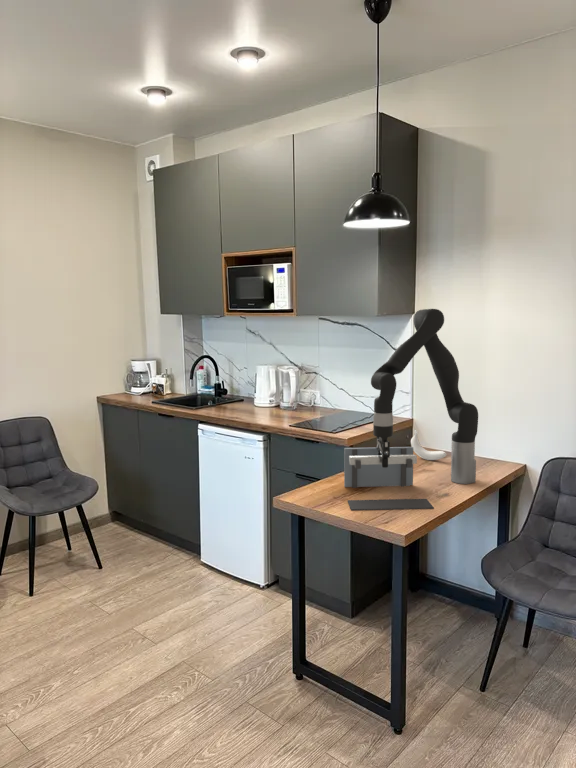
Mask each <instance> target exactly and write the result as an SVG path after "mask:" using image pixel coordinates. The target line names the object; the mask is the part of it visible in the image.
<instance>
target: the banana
mask: <svg viewBox="0 0 576 768" xmlns="http://www.w3.org/2000/svg"><path fill="white" fill-rule="evenodd" d="M413 433H414V435H413V436H412V437H411V439H410V447H413V453H414V454H415V455H416V456H417V457H420V458H422V459H423V460H425V461H437V460H440V459H443V458H445V457H446V456H447V452H445V451H443V450H435V451H434V450H433V451H432V450H427V449H426V448H424V447H423V446H422V445H421V444H420V441H419V438H418V434H419V431H418V430H416V429H414V430H413Z"/></svg>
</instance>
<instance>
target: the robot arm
mask: <svg viewBox="0 0 576 768" xmlns="http://www.w3.org/2000/svg"><path fill="white" fill-rule="evenodd" d="M444 323H445V315H444V313H443V311H441V310H440V309H438V308H427V309H426V308H423V309H420V310H419V309H418V310H417V311H416V312H415V313H414V315H413V325H414V328H415V330H416V331H415V332H414V333H413V334H412V335H411V336H410V337H409V338H408V339H407V340H405V341H404V342H403V343H401V344H400V345H399V346H398V347H397V348H396V349H395V351H393V353H392V354H391V356H390V357H389V358H388V360H387V361H386V362H384V363H383V364H382V365H380V367H378V368H377V369H376V370H375V371H374V373H373V374H372V376H371V379H370V385H371V386H372V388H373V389H374V390H378V391H379V396H377V397H375V398H374V401H373V403H374V404H373V420H372V421H373V430H372V431H373V433H372V434H373V436H374V437H376V447H377V449H378V450H377V451H378V455H382V467H383V468H387V467H388V458H389V457H390V443H391V442H390V441H389V440H388V438H390V437H393V436H394V417H393V401H394V398H395V394H396V391H397V379H396V377H395V375H398V374H401V373H402V372H404V370H405V369H406V368H407V366H408V364H409V363H410V362H411V361H412V359H413V358H414V356H416V354H418V352H420V350H421V349H422V348H423V347H424V348H425V352H426V354H427V356H428V359H429V361H430V363H431V367H432V370H433V372H434V375H435V377H436V379H437V382H438V384H439V387H440V390H441V392H442V395H443V399H444V401H445V402H444V404H445V407H446V410H447V411H446V412H447V414H448V416H449V419H450V420H451V421H452V422H454V423H455V424H457V431H455V432H452V435H451V450H450V451H451V458H450V459H451V461H450V463H451V464H450V481H451V482H453V483H454V484H455V483H456V484H462V485H464V484H465V485H468V484H473V483H474V484H475V483H476V480H477V479H476V478H477V477H476V476H477V474H476V473H477V460H476V459H475V455H476V454H475V450H476V449H475V448H476V446H475V445H476V437H477V434H478V430H479V429H478V428H479V427H478V426H479V412H478V411H479V410H478V408H477V407H476V405H475V404H473V403H469V402H465V401H464V399H463V398H462V396H461V395H462V394H461V392H460V390H459V389H460V388H459V379H460V371H459V368H458V364H457V362H456V359H455V358H454V356H453V354H452V352H450V351H449V349H448V348H447V347H446V346H445V344H444V343H442V341H441V339H440V338H439V336H438V332H439V331H440V330H441V329H442V327H443V326H444ZM384 453H387V454H384Z"/></svg>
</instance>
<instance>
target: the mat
mask: <svg viewBox="0 0 576 768" xmlns="http://www.w3.org/2000/svg"><path fill="white" fill-rule="evenodd" d="M347 504H348V506H350V507H349V509H350V511H381V510H382V511H386V510H387V511H391V510H392V511H396V510H434V509H435V508H434V506H433V505H432V503H431V502H430V501H429V500H428V498H397V499H396V498H393V499H391V498H389V499H388V498H387V499H386V498H385V499H347Z"/></svg>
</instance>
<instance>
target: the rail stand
mask: <svg viewBox="0 0 576 768" xmlns="http://www.w3.org/2000/svg"><path fill="white" fill-rule="evenodd" d="M343 450H344V451H343V459H344V460H343V462H344V463H343V464H344V465H343V466H344V467H343V470H344V471H343V473H344V476H343V478H344V479H343V480H344V481H343V483H344V484H343V485H344V486H343V487H344V488H356V489H357V488H361V487H362V488H365V487H367V488H369V487H371V488H372V487H374V488H375V487H403V488H404V486H406V487H407V486H409V487H410V485H413V486H414V464H412V462H413V460H407V464H388V467H387V468H383V467H382V464H372V465H361V461H355V465H350V464H349V456H369V455H378V451H377V450H378V449H377V446H376V447H344V448H343ZM384 454H387V453H384ZM390 455H414V450H413V447H412V446H392V447H390Z"/></svg>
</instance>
